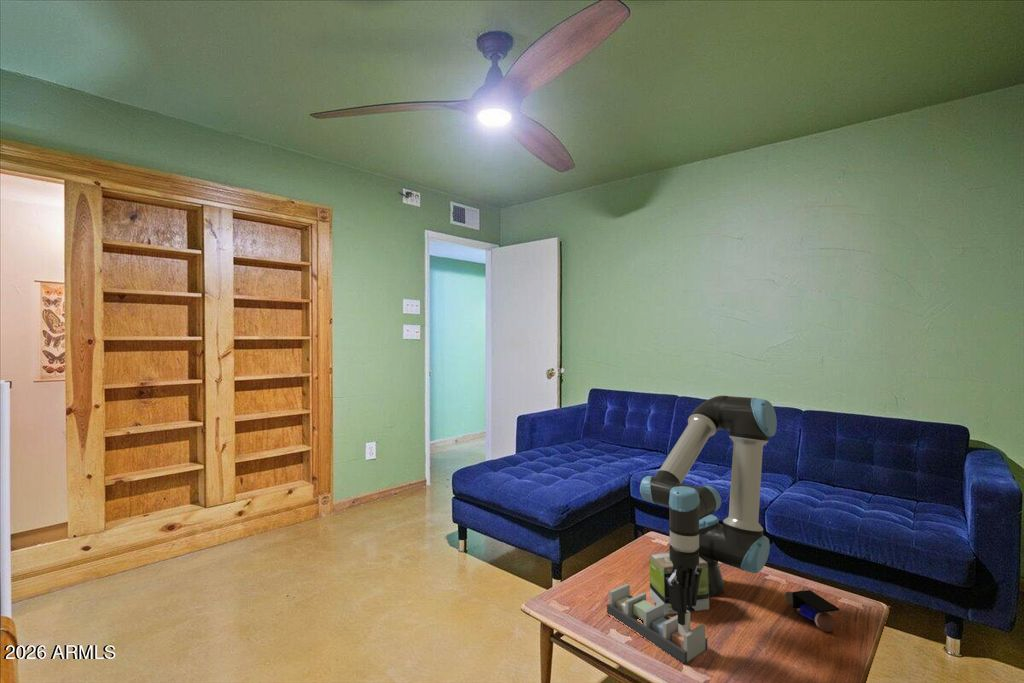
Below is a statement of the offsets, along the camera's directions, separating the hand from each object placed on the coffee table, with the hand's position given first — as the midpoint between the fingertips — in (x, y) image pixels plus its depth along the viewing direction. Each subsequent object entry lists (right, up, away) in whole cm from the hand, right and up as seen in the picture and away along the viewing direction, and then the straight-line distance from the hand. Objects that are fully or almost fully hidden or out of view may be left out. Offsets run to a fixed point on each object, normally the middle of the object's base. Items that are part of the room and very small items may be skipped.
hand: (684, 634), depth 126 cm
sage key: (-8, -1, +11) cm, 13 cm away
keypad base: (-6, -4, +8) cm, 11 cm away
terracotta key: (0, -3, 0) cm, 3 cm away
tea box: (+6, -4, +22) cm, 23 cm away
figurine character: (+43, -4, +14) cm, 45 cm away
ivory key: (-11, -3, +16) cm, 20 cm away
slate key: (-4, -3, +5) cm, 7 cm away
